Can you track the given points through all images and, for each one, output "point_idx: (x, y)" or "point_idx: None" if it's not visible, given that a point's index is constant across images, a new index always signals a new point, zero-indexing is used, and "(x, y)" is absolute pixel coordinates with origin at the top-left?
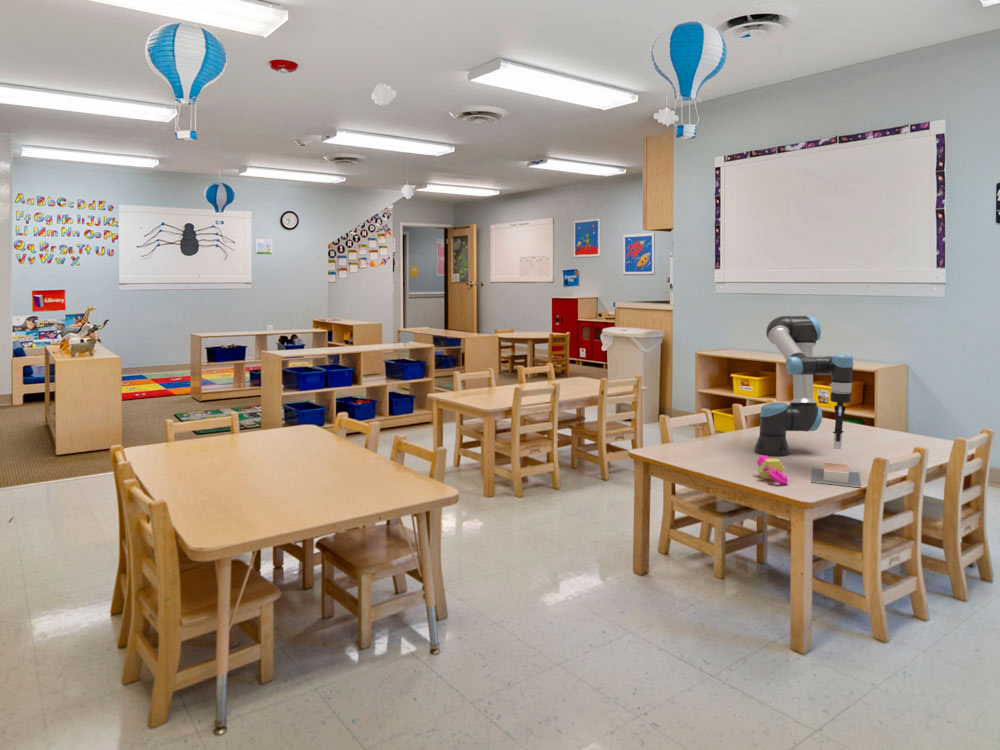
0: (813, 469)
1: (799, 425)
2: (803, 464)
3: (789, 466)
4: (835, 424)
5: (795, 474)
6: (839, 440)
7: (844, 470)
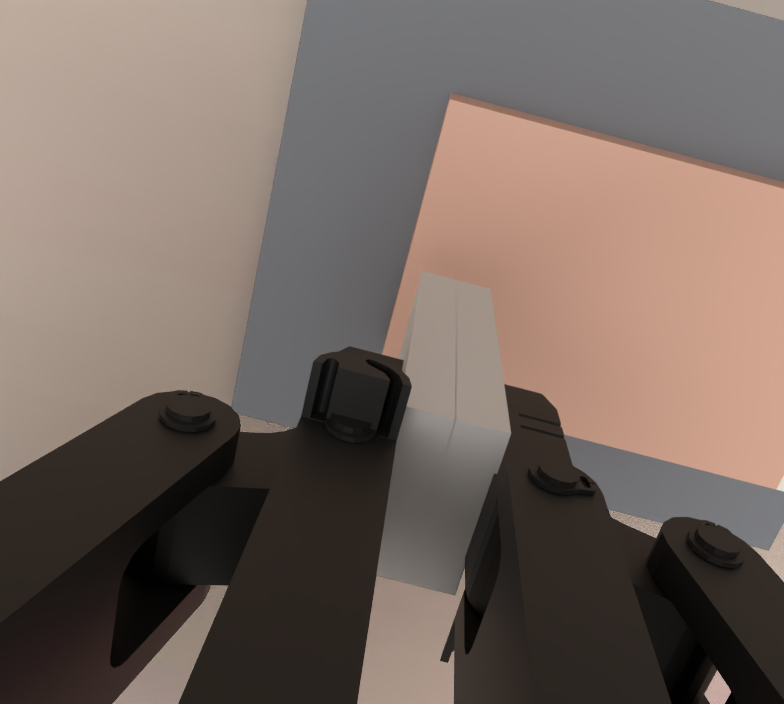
0: (300, 416)
1: None
2: (38, 431)
3: None
4: (117, 688)
5: (461, 588)
6: (550, 415)
7: (772, 243)
